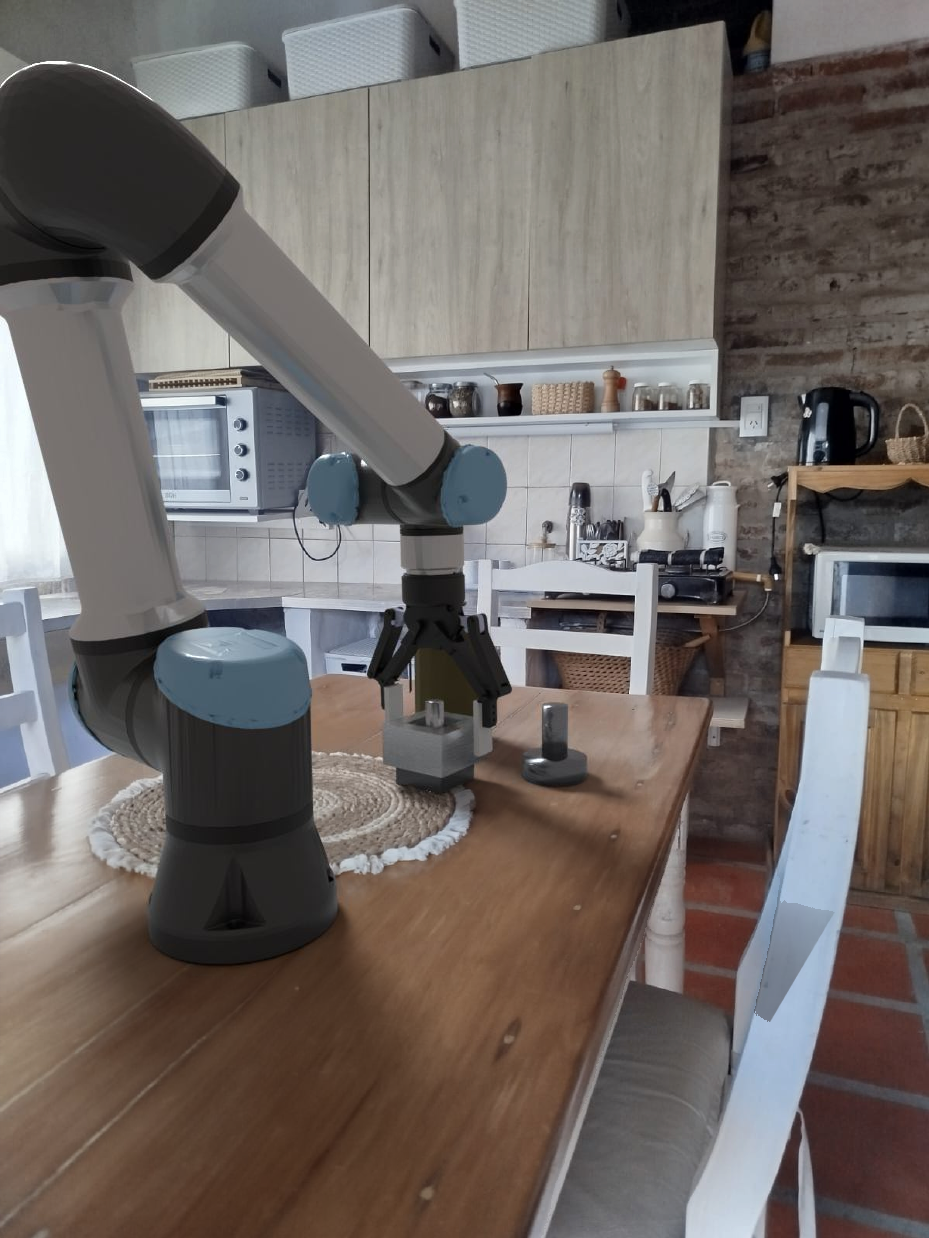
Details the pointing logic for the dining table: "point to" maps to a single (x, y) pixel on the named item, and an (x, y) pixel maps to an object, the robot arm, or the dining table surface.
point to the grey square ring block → (430, 744)
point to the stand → (427, 781)
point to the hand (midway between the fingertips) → (437, 744)
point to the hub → (554, 752)
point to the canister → (441, 681)
